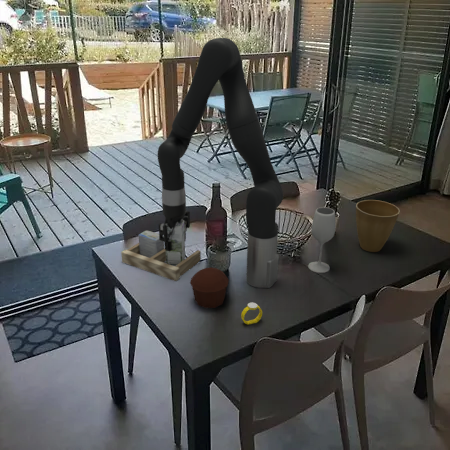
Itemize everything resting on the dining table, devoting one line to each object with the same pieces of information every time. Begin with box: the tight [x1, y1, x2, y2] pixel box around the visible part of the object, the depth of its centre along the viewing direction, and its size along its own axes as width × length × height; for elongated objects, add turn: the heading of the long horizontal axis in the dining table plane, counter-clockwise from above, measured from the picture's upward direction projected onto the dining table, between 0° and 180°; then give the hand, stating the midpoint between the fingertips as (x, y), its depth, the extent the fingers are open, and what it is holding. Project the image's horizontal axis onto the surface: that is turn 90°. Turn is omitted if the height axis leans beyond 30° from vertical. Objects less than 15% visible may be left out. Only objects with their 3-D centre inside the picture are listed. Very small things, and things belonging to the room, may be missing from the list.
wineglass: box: [307, 206, 336, 274], centre depth 160 cm, size 8×8×21 cm
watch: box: [240, 301, 263, 325], centre depth 136 cm, size 6×3×6 cm, turn 113°
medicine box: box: [137, 230, 165, 258], centre depth 168 cm, size 8×4×9 cm, turn 58°
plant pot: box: [355, 199, 401, 253], centre depth 175 cm, size 15×15×16 cm
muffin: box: [189, 266, 230, 309], centre depth 144 cm, size 12×11×10 cm
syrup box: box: [165, 220, 186, 266], centre depth 161 cm, size 6×6×14 cm
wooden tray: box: [120, 242, 202, 282], centre depth 166 cm, size 23×15×4 cm, turn 59°
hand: (175, 245), depth 162 cm, fingers closed on syrup box, 7 cm apart
